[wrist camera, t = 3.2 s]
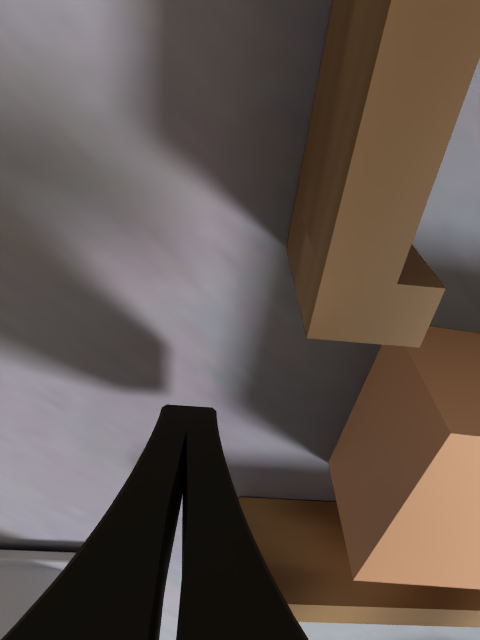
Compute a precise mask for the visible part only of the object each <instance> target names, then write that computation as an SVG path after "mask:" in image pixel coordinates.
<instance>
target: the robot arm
mask: <svg viewBox="0 0 480 640" xmlns="http://www.w3.org/2000/svg"><path fill="white" fill-rule="evenodd" d="M182 494H183V517H182V583H181V594H180V605H179V616H178V627H177V638H176V640H308V638H307V636H306V635H305V633H304V631H303V630H302V628H301V626H300V625H299V623H298V621H297V620H296V618H295V616H294V615H293V613H292V611H291V609H290V607H289V606H288V604H287V602H286V600H285V598H284V596H283V595H282V593H281V591H280V589H279V587H278V586H277V584H276V582H275V580H274V578H273V576H272V574H271V573H270V571H269V568H268V566H267V564H266V562H265V560H264V558H263V556H262V554H261V552H260V550H259V548H258V546H257V543H256V541H255V539H254V537H253V535H252V532H251V530H250V528H249V525H248V523H247V521H246V518H245V516H244V513H243V511H242V508H241V505H240V503H239V500H238V498H237V495H236V492H235V489H234V486H233V483H232V480H231V477H230V474H229V471H228V467H227V464H226V461H225V457H224V453H223V449H222V445H221V441H220V436H219V431H218V425H217V416H216V410H214V409H213V408H209V407H194V406H179V405H165V406H164V407H162V409H161V412H160V416H159V418H158V421H157V423H156V426H155V428H154V430H153V432H152V435H151V437H150V439H149V441H148V443H147V445H146V447H145V449H144V451H143V453H142V454H141V456H140V458H139V460H138V462H137V463H136V465H135V467H134V469H133V471H132V472H131V474H130V476H129V478H128V479H127V481H126V482H125V484H124V485H123V487H122V489H121V490H120V492H119V493H118V495H117V497H116V498H115V500H114V501H113V503H112V504H111V506H110V507H109V509H108V510H107V512H106V513H105V515H104V516H103V518H102V519H101V521H100V522H99V523H98V525H97V526H96V528H95V529H94V530H93V532H92V533H91V534H90V536H89V537H88V538H87V540H86V541H85V542H84V544H83V545H82V546H81V548H80V549H79V550H78V551H77V553H72V552H48V551H24V550H0V640H159V635H160V626H161V617H162V607H163V598H164V592H165V585H166V579H167V573H168V568H169V563H170V558H171V552H172V547H173V542H174V537H175V531H176V526H177V521H178V516H179V510H180V505H181V500H182Z"/></svg>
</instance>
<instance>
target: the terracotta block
mask: <svg viewBox="0 0 480 640" xmlns="http://www.w3.org/2000/svg"><path fill="white" fill-rule="evenodd" d="M328 464H329V469H330V473H331V478H332V483H333V488H334V492H335V497H336V502H337V506H338V511H339V516H340V520H341V525H342V530H343V535H344V539H345V544H346V549H347V553H348V558H349V563H350V567H351V572H352V577H353V580H355V581H369V582H383V583H397V584H411V585H425V586H439V587H453V588H467V589H480V333H474V332H467V331H460V330H453V329H446V328H439V327H432V326H429V328H428V330H427V332H426V335H425V337H424V339H423V341H422V344H421V346H420V348H418V347H406V346H394V345H381V348H380V350H379V352H378V354H377V356H376V359H375V361H374V363H373V365H372V367H371V370H370V372H369V374H368V376H367V378H366V381H365V383H364V385H363V387H362V389H361V392H360V394H359V396H358V398H357V400H356V403H355V405H354V407H353V409H352V411H351V414H350V416H349V418H348V420H347V422H346V425H345V427H344V429H343V431H342V433H341V436H340V438H339V440H338V442H337V444H336V447H335V449H334V451H333V453H332V455H331V458H330V460H329V462H328Z"/></svg>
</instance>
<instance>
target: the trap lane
mask: <svg viewBox="0 0 480 640" xmlns="http://www.w3.org/2000/svg"><path fill="white" fill-rule="evenodd" d="M479 57H480V0H333V2H332V7H331V12H330V17H329V23H328V28H327V33H326V39H325V44H324V49H323V55H322V60H321V65H320V71H319V76H318V81H317V87H316V92H315V97H314V103H313V108H312V113H311V119H310V124H309V129H308V134H307V140H306V145H305V150H304V156H303V161H302V166H301V172H300V177H299V182H298V188H297V193H296V198H295V204H294V209H293V214H292V220H291V225H290V230H289V235H288V241H287V246H286V250H287V254H288V258H289V263H290V267H291V272H292V276H293V280H294V285H295V289H296V293H297V298H298V302H299V307H300V311H301V315H302V320H303V324H304V328H305V333H306V337H307V339H319V340H332V341H344V342H357V343H369V344H381V345H394V346H406V347H418V348H420V346H421V344H422V341H423V339H424V337H425V335H426V332H427V330H428V328H429V326H430V323H431V321H432V319H433V316H434V314H435V312H436V310H437V307H438V305H439V303H440V301H441V298H442V296H443V294H444V291H445V289H446V288H445V287H444V286H443V284H442V283H441V282H440V280H439V279H438V278H437V277H436V275H435V274H434V273H433V271H432V270H431V269H430V267H429V266H428V265H427V264H426V262H425V261H424V260H423V258H422V257H421V256H420V255H419V253H418V252H417V251H416V249H415V248H414V247H413V245H412V241H413V239H414V236H415V233H416V230H417V228H418V225H419V222H420V219H421V217H422V214H423V211H424V208H425V206H426V203H427V200H428V197H429V195H430V192H431V189H432V186H433V184H434V181H435V178H436V175H437V173H438V170H439V167H440V165H441V162H442V159H443V156H444V154H445V151H446V148H447V145H448V143H449V140H450V137H451V134H452V132H453V129H454V126H455V123H456V121H457V118H458V115H459V112H460V110H461V107H462V104H463V101H464V99H465V96H466V93H467V90H468V88H469V85H470V82H471V79H472V77H473V74H474V71H475V68H476V66H477V63H478V60H479ZM239 503H240V505H241V508H242V511H243V513H244V516H245V518H246V521H247V523H248V525H249V528H250V530H251V532H252V535H253V537H254V539H255V541H256V543H257V546H258V548H259V550H260V552H261V554H262V556H263V558H264V560H265V562H266V564H267V566H268V568H269V571H270V573H271V574H272V576H273V578H274V580H275V582H276V584H277V586H278V587H279V589H280V591H281V593H282V595H283V596H284V598H285V600H286V602H287V604H288V606H289V607H290V609H291V611H292V613H293V615H294V616H295V618H296V620H297V621H298V622H324V623H356V624H388V625H420V626H452V627H480V589H467V588H453V587H439V586H425V585H411V584H397V583H383V582H369V581H355V580H353V577H352V572H351V567H350V563H349V558H348V553H347V549H346V544H345V539H344V535H343V530H342V525H341V520H340V516H339V511H338V506H337V502H323V501H304V500H284V499H265V498H246V497H239Z"/></svg>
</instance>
